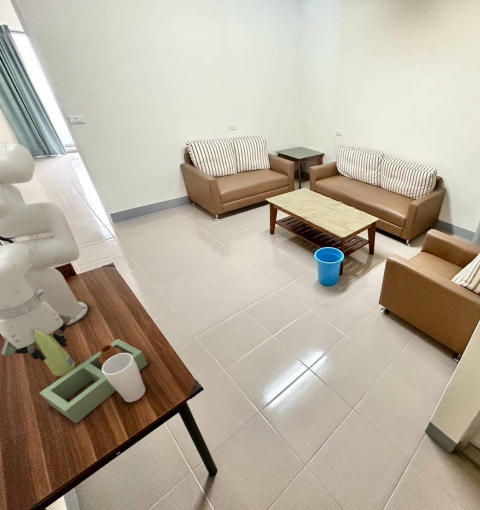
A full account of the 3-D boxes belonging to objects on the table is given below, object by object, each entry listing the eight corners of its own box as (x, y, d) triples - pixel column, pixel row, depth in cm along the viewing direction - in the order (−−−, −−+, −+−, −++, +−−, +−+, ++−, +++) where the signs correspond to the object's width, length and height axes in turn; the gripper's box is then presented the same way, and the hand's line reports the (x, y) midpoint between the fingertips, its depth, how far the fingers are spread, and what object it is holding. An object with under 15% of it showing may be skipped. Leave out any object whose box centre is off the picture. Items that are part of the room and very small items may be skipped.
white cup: (128, 410, 75) (108, 379, 67) (116, 396, 78) (96, 365, 70) (153, 391, 80) (138, 360, 72) (141, 379, 83) (125, 348, 75)
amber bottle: (104, 374, 83) (89, 352, 77) (122, 360, 87) (109, 338, 81) (116, 381, 82) (102, 359, 76) (133, 367, 86) (122, 345, 80)
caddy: (51, 405, 74) (39, 392, 71) (124, 351, 90) (117, 338, 87) (76, 423, 71) (65, 411, 68) (147, 364, 87) (141, 351, 84)
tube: (46, 376, 79) (10, 330, 68) (60, 361, 83) (29, 315, 73) (67, 376, 79) (35, 331, 69) (80, 362, 84) (52, 317, 73)
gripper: (49, 281, 75) (77, 326, 85) (-43, 322, 61) (4, 369, 71) (66, 290, 73) (93, 335, 83) (-25, 334, 59) (20, 381, 69)
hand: (51, 350), depth 77 cm, fingers closed on tube, 4 cm apart
